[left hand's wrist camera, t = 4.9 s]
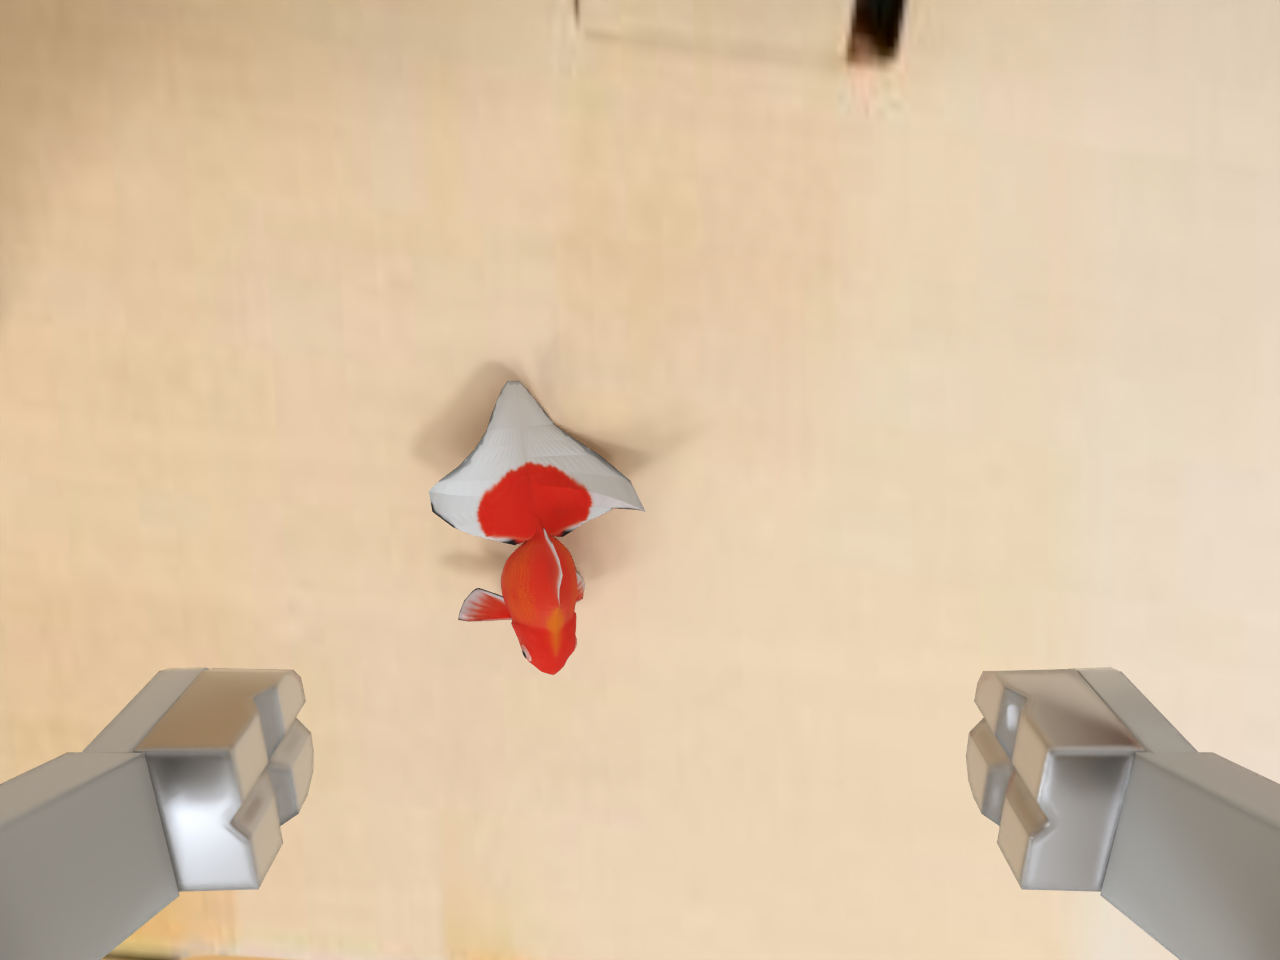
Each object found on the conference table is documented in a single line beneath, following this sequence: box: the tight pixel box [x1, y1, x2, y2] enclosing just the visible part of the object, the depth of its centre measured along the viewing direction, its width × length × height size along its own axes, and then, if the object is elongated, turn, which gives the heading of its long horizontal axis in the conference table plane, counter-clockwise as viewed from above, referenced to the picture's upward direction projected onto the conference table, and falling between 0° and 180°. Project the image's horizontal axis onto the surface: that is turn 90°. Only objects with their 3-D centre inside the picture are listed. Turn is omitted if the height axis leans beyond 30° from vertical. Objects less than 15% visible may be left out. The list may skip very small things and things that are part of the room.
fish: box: [429, 381, 645, 675], centre depth 46 cm, size 11×16×10 cm
